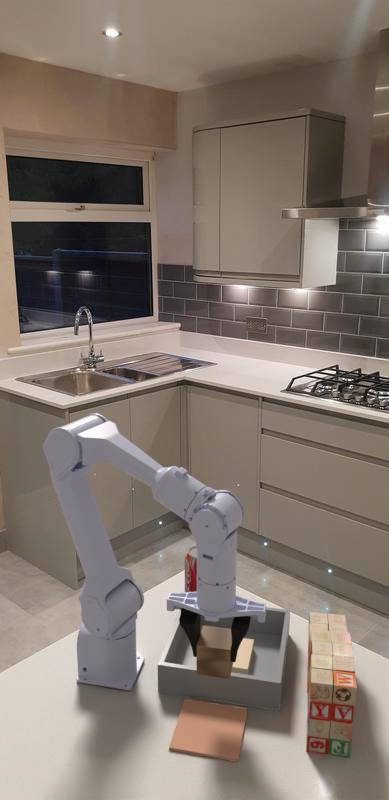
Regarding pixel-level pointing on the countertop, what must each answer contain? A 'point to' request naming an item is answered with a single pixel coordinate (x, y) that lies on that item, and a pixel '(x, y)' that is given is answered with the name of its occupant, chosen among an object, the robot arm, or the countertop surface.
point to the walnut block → (214, 652)
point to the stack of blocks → (330, 686)
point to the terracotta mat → (209, 730)
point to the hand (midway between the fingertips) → (215, 655)
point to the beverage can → (191, 570)
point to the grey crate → (251, 673)
